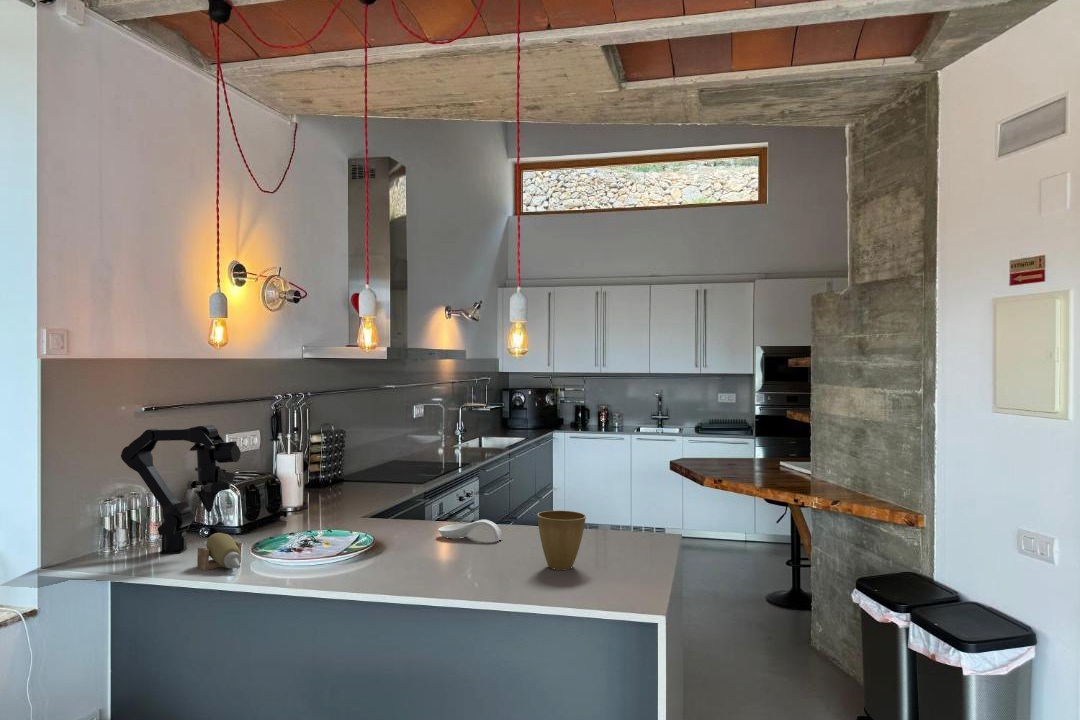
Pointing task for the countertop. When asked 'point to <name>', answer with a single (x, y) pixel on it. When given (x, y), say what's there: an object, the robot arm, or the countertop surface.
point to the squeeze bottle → (224, 550)
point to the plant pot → (561, 536)
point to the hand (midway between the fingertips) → (209, 511)
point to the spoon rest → (468, 529)
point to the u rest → (204, 560)
